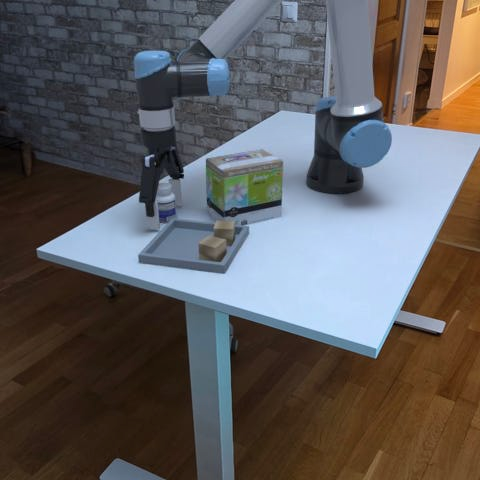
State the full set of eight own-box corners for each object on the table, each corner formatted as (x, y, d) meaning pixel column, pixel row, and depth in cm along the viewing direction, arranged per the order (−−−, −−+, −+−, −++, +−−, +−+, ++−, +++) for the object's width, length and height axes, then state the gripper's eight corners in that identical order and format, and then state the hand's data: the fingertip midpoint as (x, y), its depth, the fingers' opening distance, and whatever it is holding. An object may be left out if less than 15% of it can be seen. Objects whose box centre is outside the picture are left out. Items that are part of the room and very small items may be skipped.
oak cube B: (226, 257, 115) (226, 239, 113) (215, 265, 111) (215, 247, 110) (210, 252, 116) (209, 235, 115) (199, 260, 113) (198, 243, 112)
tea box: (225, 233, 126) (223, 170, 119) (206, 217, 134) (203, 157, 127) (283, 219, 132) (284, 158, 125) (261, 204, 140) (261, 146, 133)
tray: (249, 236, 124) (248, 226, 123) (224, 276, 109) (224, 265, 108) (172, 227, 129) (172, 218, 128) (139, 265, 113) (138, 254, 112)
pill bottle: (155, 217, 134) (151, 181, 130) (177, 215, 135) (174, 180, 131) (154, 226, 130) (150, 190, 126) (176, 225, 130) (174, 189, 126)
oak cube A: (235, 237, 122) (234, 220, 121) (233, 246, 119) (232, 229, 117) (216, 237, 123) (216, 220, 121) (214, 245, 119) (213, 228, 117)
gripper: (164, 111, 134) (170, 194, 143) (115, 142, 112) (126, 237, 122) (193, 113, 132) (198, 197, 141) (150, 144, 110) (159, 241, 120)
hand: (165, 216), depth 132 cm, fingers open, 13 cm apart
